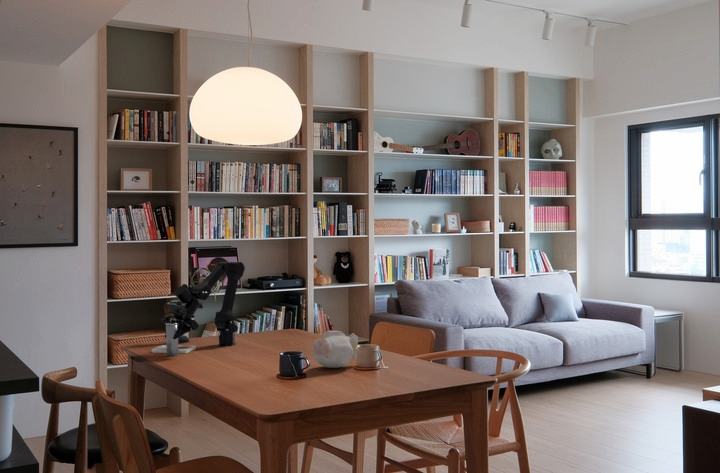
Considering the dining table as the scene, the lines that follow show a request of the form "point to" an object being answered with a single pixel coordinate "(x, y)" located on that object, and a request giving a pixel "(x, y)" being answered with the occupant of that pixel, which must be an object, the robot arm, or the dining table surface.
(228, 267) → the robot arm
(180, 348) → the dial scale
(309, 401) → the dining table surface
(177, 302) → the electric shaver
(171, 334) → the metal tumbler
